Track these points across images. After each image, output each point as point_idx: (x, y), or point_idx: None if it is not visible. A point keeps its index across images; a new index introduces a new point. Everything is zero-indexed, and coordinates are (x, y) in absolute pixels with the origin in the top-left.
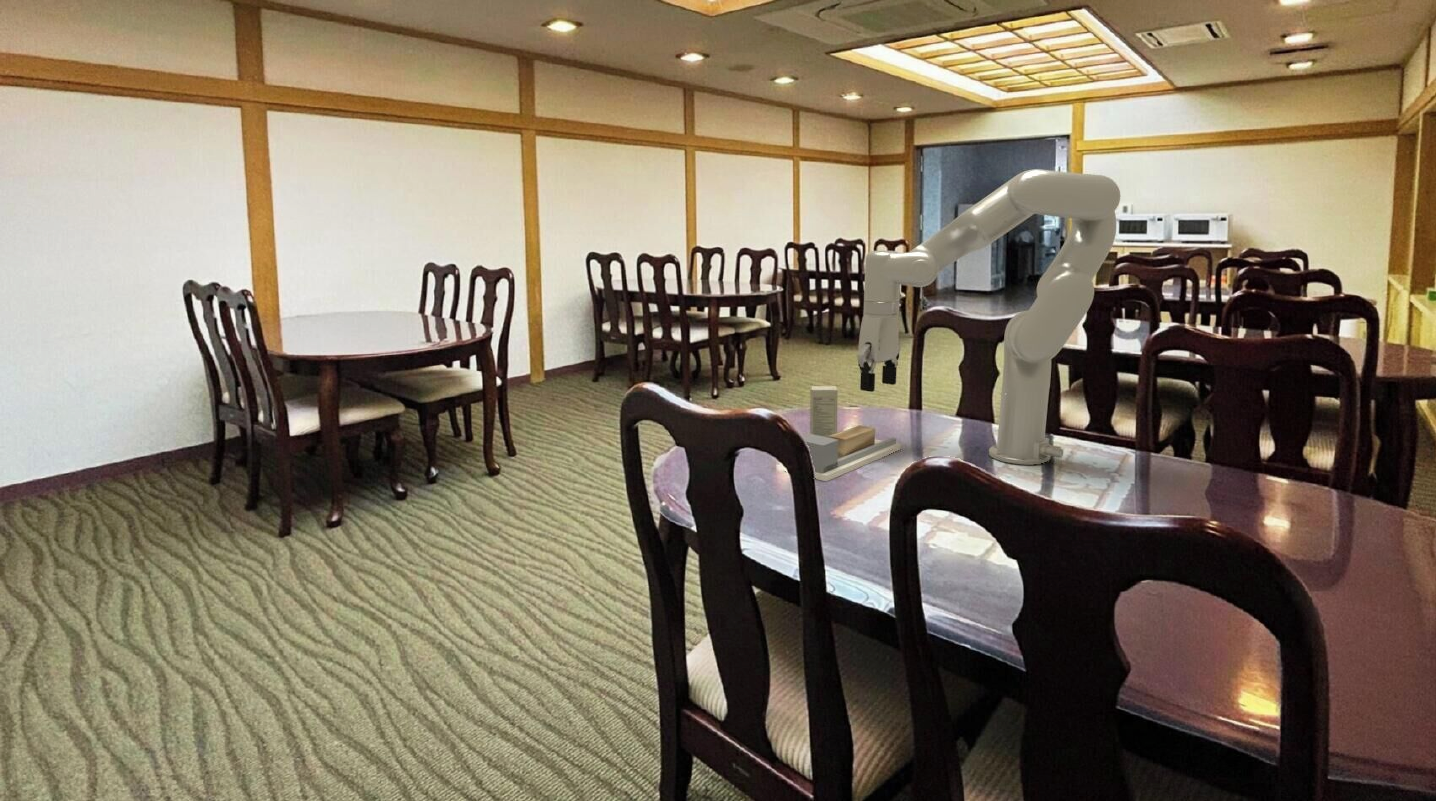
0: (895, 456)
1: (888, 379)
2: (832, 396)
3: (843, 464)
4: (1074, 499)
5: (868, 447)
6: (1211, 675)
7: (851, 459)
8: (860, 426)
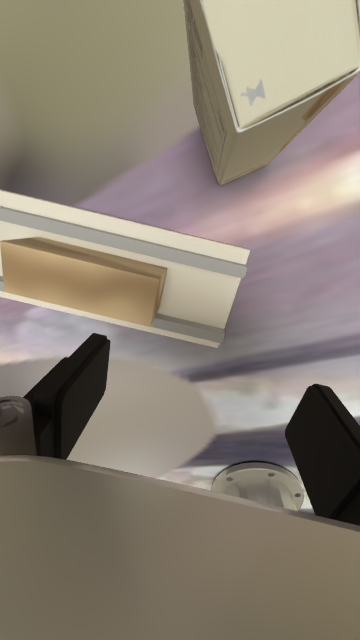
0: (166, 343)
1: (303, 428)
2: (223, 116)
3: None
4: None
5: None
6: None
7: None
8: (147, 286)
